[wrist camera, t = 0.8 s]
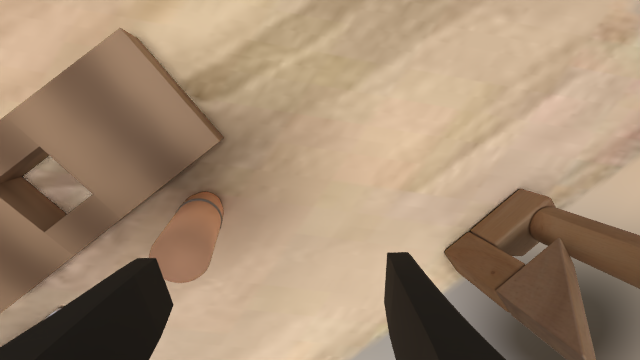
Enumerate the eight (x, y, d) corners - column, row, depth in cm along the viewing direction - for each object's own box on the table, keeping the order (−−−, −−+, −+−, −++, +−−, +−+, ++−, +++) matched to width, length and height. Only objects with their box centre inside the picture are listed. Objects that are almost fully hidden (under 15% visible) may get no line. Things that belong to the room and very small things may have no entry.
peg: (203, 232, 26) (179, 294, 17) (175, 204, 25) (134, 255, 16) (234, 208, 26) (224, 258, 17) (207, 180, 25) (182, 218, 16)
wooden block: (442, 251, 32) (664, 419, 14) (519, 186, 32) (827, 278, 15) (457, 273, 33) (681, 454, 16) (532, 211, 33) (832, 322, 16)
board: (26, 292, 24) (-5, 317, 21) (-88, 212, 21) (-142, 228, 18) (223, 137, 24) (219, 141, 21) (137, 38, 21) (120, 27, 19)
